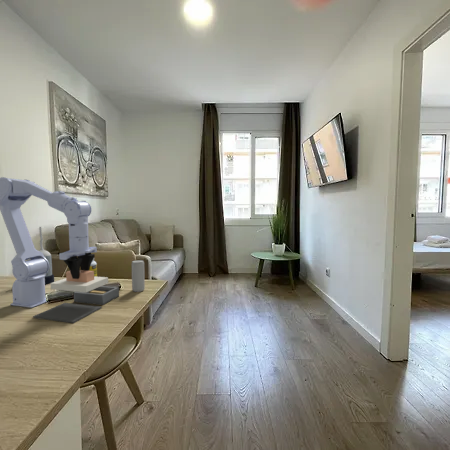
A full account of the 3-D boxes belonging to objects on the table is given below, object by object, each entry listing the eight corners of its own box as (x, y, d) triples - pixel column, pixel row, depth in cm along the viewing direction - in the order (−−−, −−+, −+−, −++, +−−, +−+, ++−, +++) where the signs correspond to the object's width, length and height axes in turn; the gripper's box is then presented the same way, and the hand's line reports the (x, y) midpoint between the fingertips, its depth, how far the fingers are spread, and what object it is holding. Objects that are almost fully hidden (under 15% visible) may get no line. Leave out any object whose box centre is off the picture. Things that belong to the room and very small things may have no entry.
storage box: (74, 301, 96) (73, 292, 96) (92, 293, 105) (91, 285, 105) (102, 305, 93) (102, 295, 93) (119, 296, 102) (118, 287, 102)
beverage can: (133, 288, 112) (133, 260, 111) (145, 288, 112) (145, 260, 111) (130, 292, 107) (130, 262, 106) (143, 292, 107) (142, 262, 107)
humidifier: (37, 280, 123) (34, 226, 121) (57, 279, 125) (54, 226, 123) (28, 285, 115) (25, 227, 113) (50, 284, 117) (47, 227, 115)
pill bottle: (90, 284, 117) (89, 258, 117) (77, 283, 119) (76, 257, 118) (100, 280, 124) (99, 255, 123) (88, 279, 125) (87, 254, 124)
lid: (50, 289, 88) (50, 274, 87) (75, 280, 98) (75, 266, 98) (86, 292, 85) (85, 276, 84) (108, 282, 95) (107, 269, 95)
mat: (32, 317, 83) (32, 316, 83) (64, 304, 94) (64, 302, 94) (73, 323, 79) (73, 321, 79) (101, 308, 91) (101, 306, 91)
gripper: (72, 240, 82) (73, 283, 83) (103, 235, 96) (104, 272, 97) (53, 239, 84) (54, 282, 85) (86, 234, 98) (88, 271, 99)
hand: (80, 276), depth 91 cm, fingers closed on lid, 3 cm apart
